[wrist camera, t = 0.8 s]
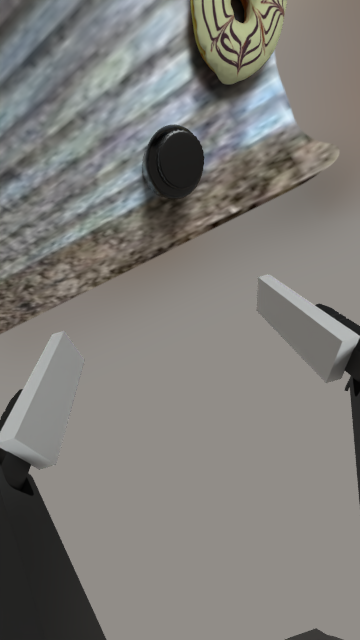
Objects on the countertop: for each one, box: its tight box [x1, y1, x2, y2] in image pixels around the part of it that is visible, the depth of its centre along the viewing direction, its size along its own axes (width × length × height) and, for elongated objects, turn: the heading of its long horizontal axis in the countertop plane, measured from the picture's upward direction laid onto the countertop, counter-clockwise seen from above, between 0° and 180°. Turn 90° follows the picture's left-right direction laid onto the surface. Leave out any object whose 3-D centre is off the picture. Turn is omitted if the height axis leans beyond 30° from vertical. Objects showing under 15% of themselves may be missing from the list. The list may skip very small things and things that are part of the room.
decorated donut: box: [190, 0, 287, 84], centre depth 22 cm, size 10×11×4 cm
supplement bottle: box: [142, 125, 204, 199], centre depth 25 cm, size 7×7×12 cm
